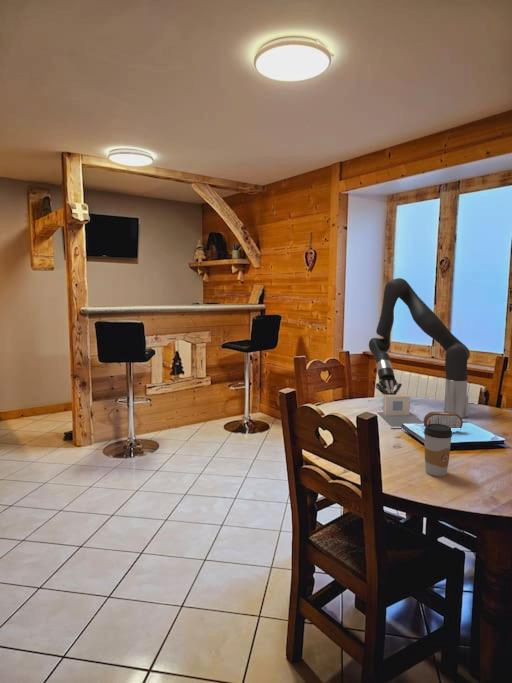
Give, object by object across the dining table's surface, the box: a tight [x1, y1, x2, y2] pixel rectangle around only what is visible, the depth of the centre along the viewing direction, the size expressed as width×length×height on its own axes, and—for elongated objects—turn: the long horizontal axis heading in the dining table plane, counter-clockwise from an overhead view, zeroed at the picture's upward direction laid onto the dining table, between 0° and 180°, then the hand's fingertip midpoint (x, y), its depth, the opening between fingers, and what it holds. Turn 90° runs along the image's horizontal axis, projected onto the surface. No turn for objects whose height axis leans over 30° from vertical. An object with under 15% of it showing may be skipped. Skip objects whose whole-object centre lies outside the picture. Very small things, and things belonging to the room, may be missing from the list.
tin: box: [423, 411, 464, 429], centre depth 182 cm, size 15×3×8 cm, turn 84°
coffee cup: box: [423, 424, 453, 477], centre depth 140 cm, size 8×8×15 cm
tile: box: [383, 394, 411, 416], centre depth 203 cm, size 11×3×9 cm, turn 91°
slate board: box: [376, 411, 424, 430], centre depth 197 cm, size 16×22×1 cm
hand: (392, 401), depth 209 cm, fingers closed
